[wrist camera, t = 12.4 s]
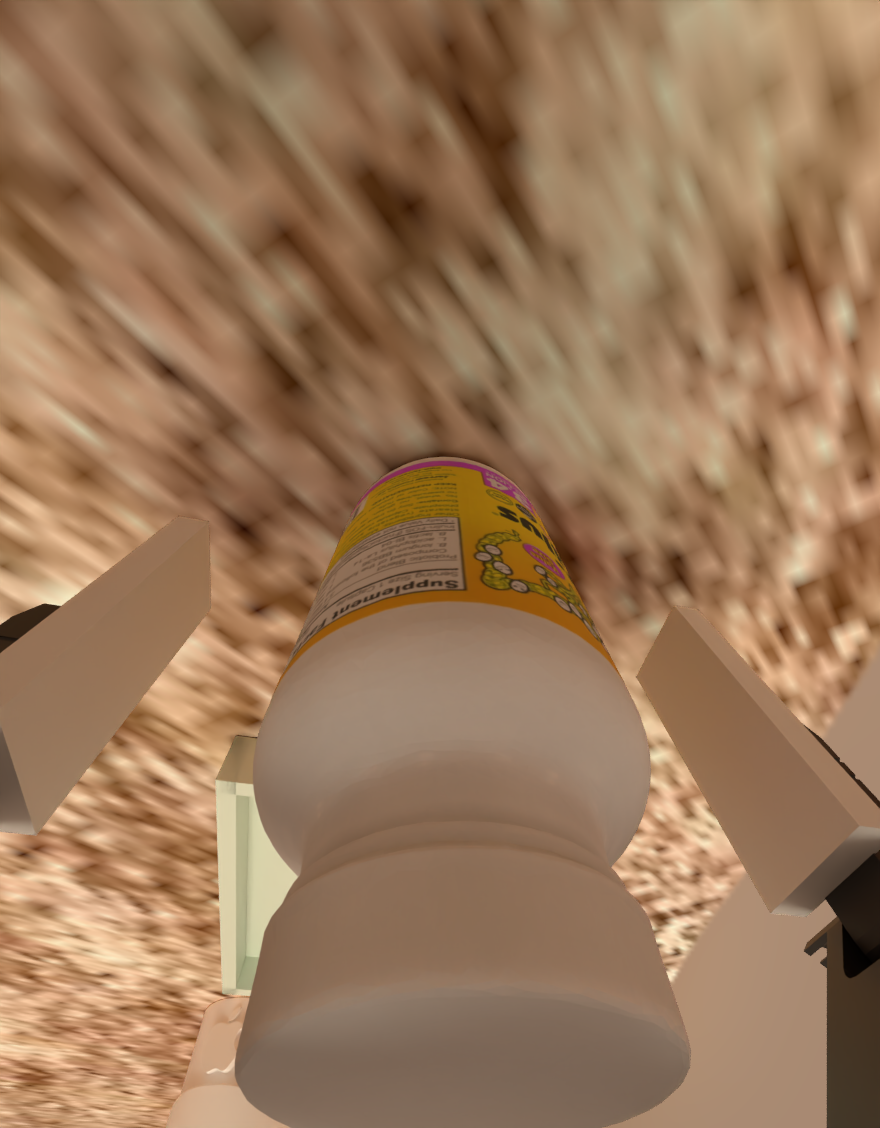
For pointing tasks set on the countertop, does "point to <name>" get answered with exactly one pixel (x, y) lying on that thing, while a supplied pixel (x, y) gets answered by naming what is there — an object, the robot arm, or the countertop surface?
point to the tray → (244, 870)
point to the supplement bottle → (454, 837)
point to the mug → (217, 1075)
